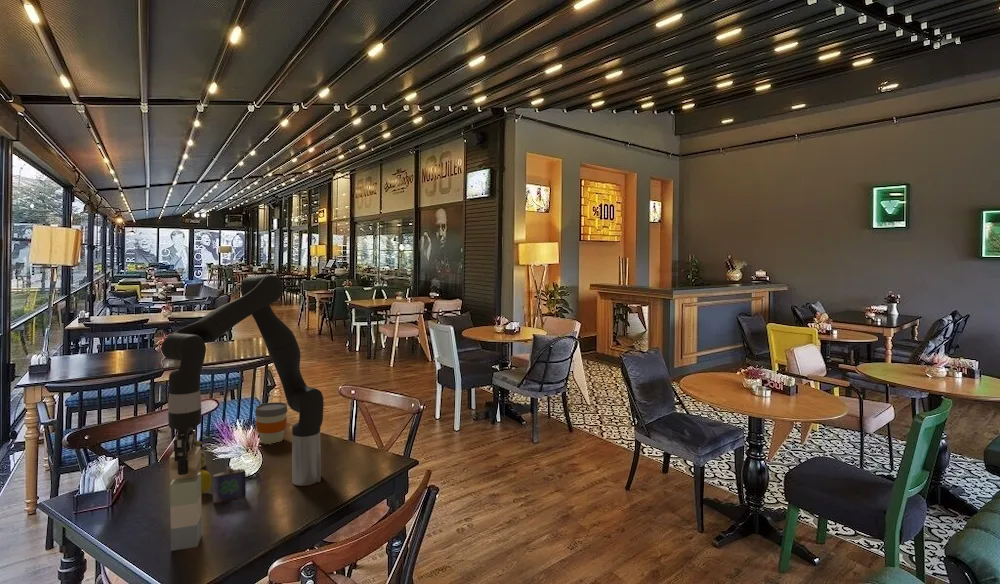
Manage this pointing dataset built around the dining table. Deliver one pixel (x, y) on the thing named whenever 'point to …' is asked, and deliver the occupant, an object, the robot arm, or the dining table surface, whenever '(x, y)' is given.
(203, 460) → the olive tiered cone
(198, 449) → the maple cube
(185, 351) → the robot arm
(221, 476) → the flask
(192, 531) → the tower base
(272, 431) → the reusable coffee cup
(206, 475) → the lemon
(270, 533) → the dining table surface
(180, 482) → the tower top
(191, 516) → the tower mid
